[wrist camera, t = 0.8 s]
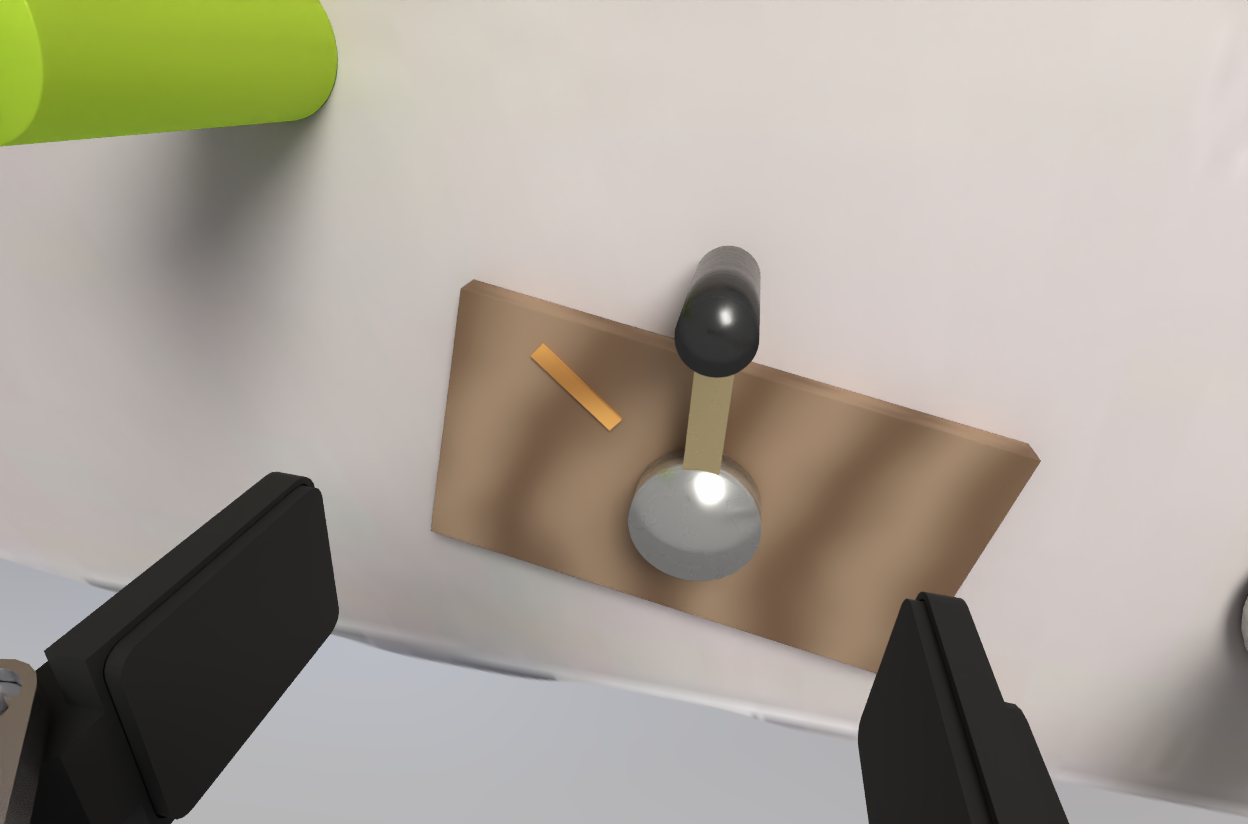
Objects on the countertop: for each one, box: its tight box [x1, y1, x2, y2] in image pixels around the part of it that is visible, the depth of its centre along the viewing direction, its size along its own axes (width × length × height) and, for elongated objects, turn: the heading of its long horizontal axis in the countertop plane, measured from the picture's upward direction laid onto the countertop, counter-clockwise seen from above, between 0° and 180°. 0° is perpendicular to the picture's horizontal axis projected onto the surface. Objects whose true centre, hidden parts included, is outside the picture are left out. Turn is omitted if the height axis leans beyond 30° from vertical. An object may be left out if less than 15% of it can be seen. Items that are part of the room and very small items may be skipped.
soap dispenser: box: [0, 0, 337, 146], centre depth 19 cm, size 6×7×20 cm
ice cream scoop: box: [628, 246, 761, 581], centre depth 27 cm, size 15×6×7 cm, turn 177°
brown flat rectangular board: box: [431, 280, 1041, 673], centre depth 33 cm, size 26×14×2 cm, turn 77°
